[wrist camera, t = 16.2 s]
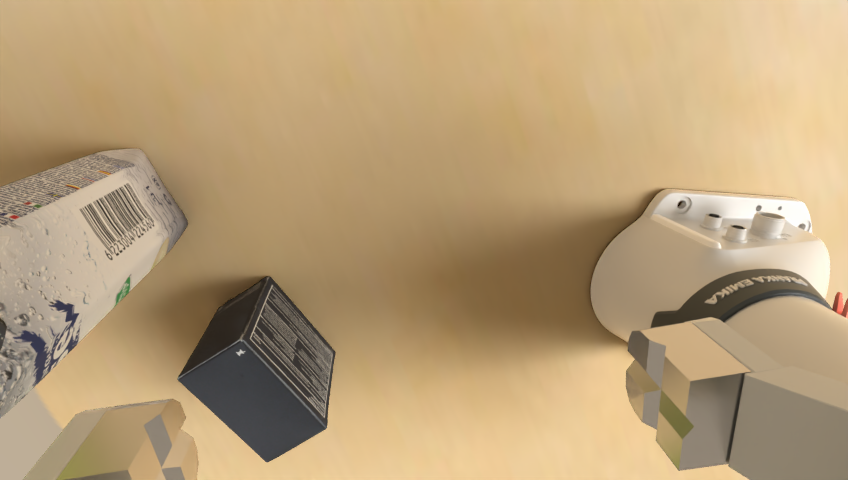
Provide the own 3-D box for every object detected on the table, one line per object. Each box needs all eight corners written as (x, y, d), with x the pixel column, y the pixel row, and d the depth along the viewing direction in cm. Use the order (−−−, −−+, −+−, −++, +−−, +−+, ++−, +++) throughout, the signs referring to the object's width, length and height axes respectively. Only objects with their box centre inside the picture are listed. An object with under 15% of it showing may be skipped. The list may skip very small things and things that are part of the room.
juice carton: (30, 182, 39) (-573, 414, 14) (147, 131, 39) (-260, 274, 14) (99, 273, 42) (-290, 592, 17) (207, 227, 42) (-31, 484, 17)
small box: (212, 309, 45) (169, 380, 35) (269, 272, 44) (241, 334, 34) (284, 385, 49) (264, 468, 39) (338, 352, 48) (330, 428, 38)
